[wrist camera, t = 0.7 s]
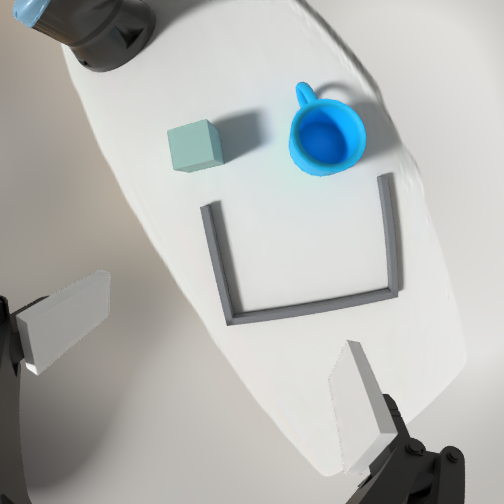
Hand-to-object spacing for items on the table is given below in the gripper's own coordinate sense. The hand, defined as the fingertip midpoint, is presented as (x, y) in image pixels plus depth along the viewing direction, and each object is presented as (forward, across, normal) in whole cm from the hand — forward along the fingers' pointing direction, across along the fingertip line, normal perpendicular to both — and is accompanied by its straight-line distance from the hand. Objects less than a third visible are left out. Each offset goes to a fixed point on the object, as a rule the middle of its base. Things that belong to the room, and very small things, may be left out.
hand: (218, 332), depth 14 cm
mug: (+25, +4, +16) cm, 30 cm away
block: (+25, -10, +10) cm, 29 cm away
